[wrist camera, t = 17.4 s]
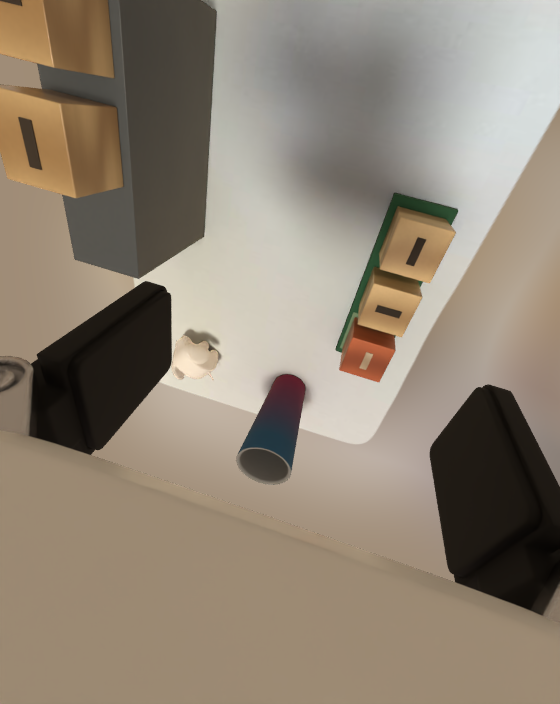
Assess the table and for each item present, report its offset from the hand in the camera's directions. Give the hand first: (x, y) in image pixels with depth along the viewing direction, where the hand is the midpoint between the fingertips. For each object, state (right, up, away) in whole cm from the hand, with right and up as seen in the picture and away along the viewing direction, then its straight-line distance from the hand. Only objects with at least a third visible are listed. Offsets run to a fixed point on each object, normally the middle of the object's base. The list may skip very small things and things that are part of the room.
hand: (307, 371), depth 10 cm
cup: (+1, -5, +41) cm, 41 cm away
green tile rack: (+12, +8, +29) cm, 32 cm away
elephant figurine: (-12, +1, +41) cm, 43 cm away
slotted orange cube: (+10, +2, +32) cm, 34 cm away
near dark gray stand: (-11, +24, +25) cm, 36 cm away
